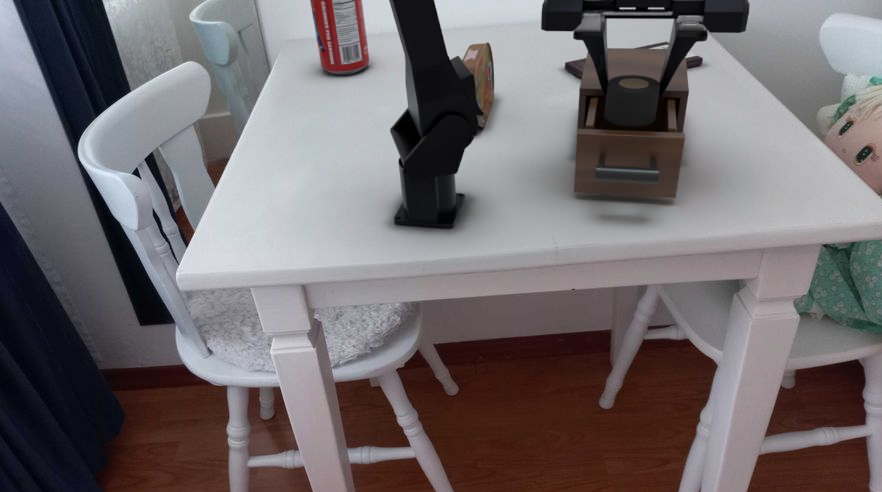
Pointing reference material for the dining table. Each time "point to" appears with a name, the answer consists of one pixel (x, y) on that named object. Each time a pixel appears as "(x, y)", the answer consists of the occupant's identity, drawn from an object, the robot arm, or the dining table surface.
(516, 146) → the dining table surface
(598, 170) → the drawer
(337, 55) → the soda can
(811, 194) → the dining table surface
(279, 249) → the dining table surface
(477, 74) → the tin
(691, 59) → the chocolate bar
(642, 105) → the tape
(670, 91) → the cabinet
